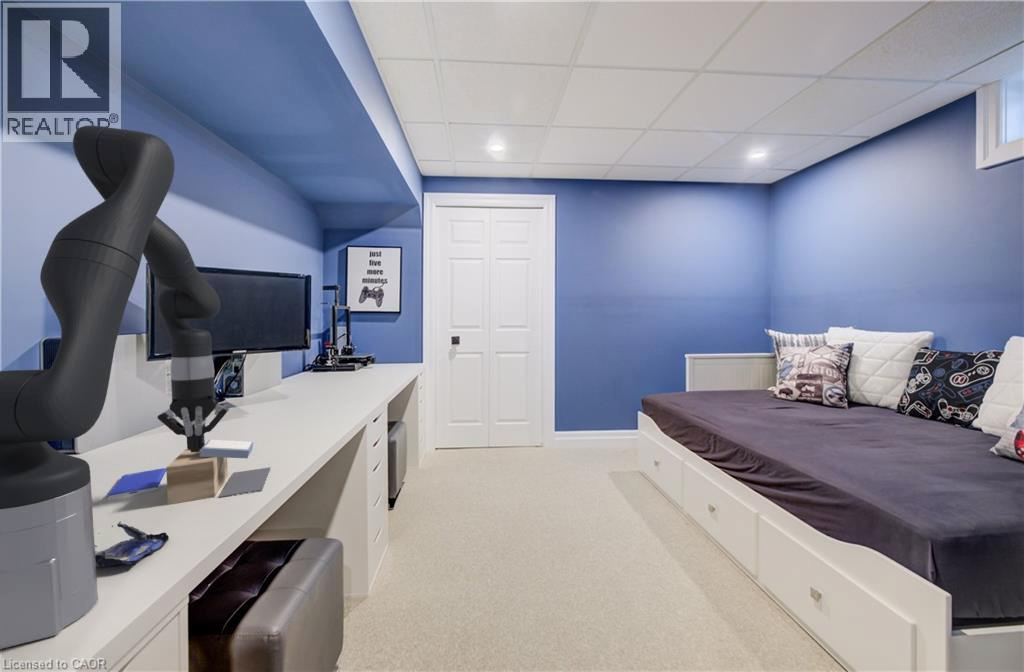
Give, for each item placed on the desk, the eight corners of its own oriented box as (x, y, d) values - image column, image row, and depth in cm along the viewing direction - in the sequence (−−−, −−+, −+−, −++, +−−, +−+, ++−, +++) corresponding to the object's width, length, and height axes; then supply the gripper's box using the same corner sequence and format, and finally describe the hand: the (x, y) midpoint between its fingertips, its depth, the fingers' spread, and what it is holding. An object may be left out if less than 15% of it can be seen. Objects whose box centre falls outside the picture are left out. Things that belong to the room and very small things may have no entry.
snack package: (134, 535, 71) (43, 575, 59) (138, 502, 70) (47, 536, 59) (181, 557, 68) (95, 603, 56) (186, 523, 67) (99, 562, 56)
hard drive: (122, 475, 93) (106, 495, 83) (166, 467, 98) (157, 485, 88) (122, 481, 93) (107, 502, 83) (167, 473, 98) (157, 492, 88)
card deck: (247, 458, 89) (249, 449, 89) (199, 456, 85) (201, 447, 85) (252, 449, 95) (253, 441, 95) (207, 447, 91) (209, 439, 91)
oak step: (214, 496, 84) (213, 461, 84) (168, 504, 81) (166, 467, 80) (227, 476, 95) (226, 444, 95) (187, 481, 92) (185, 449, 91)
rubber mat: (262, 490, 87) (262, 489, 87) (219, 497, 84) (219, 496, 84) (270, 468, 100) (270, 467, 100) (233, 473, 97) (233, 472, 97)
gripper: (147, 380, 80) (151, 461, 81) (224, 376, 86) (227, 452, 87) (161, 375, 87) (165, 449, 88) (232, 371, 93) (235, 442, 94)
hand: (196, 450), depth 87 cm, fingers closed
